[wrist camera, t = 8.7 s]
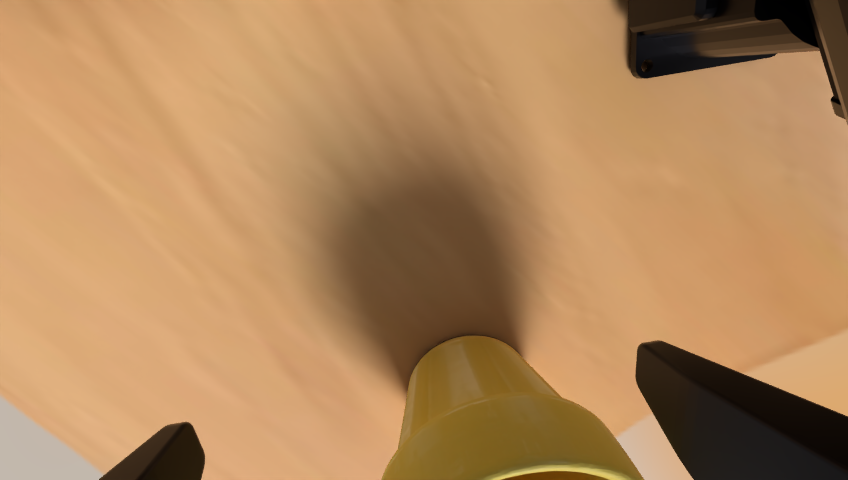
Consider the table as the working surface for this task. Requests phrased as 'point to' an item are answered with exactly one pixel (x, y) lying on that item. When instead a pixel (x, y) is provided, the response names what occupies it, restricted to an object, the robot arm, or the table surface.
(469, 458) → the plant pot
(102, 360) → the table surface
